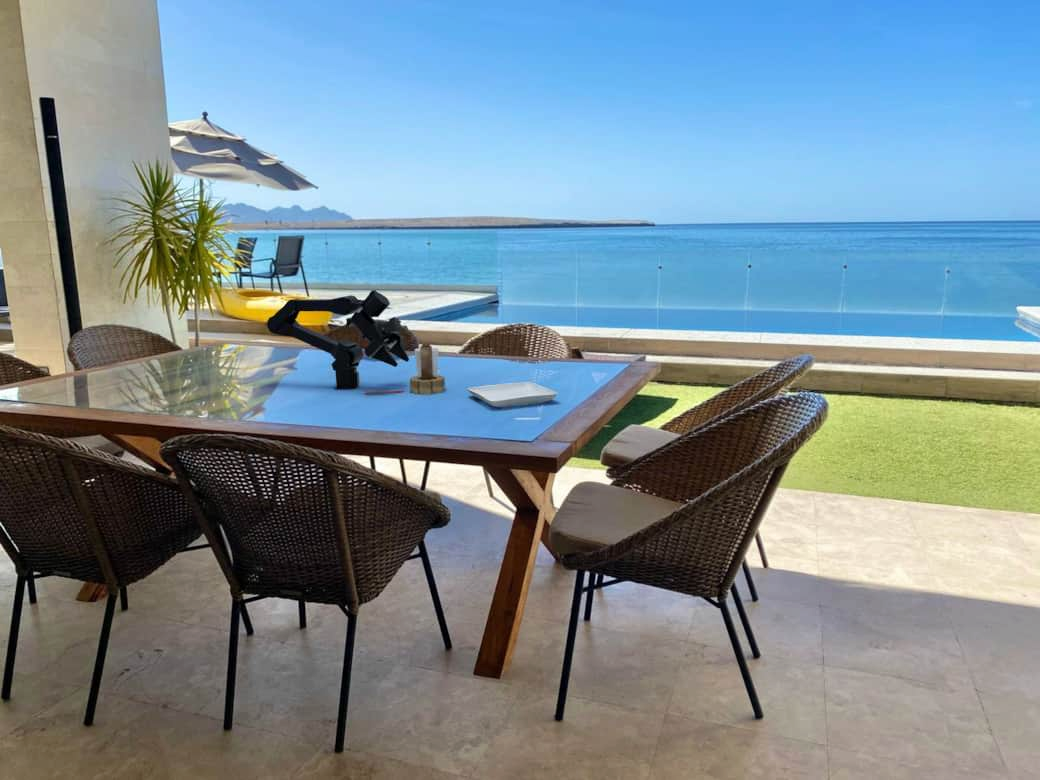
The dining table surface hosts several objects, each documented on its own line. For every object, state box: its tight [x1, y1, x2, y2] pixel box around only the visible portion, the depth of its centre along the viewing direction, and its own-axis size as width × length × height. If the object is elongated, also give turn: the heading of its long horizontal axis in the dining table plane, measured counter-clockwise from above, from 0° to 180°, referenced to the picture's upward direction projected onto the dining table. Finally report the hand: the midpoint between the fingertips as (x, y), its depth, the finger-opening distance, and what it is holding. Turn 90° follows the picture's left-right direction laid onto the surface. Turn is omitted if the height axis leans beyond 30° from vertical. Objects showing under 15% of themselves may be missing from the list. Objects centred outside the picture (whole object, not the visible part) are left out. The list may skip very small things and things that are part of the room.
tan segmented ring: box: [409, 374, 446, 395], centre depth 242 cm, size 10×10×4 cm
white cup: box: [414, 347, 439, 376], centre depth 261 cm, size 8×8×10 cm
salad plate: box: [467, 381, 559, 408], centre depth 227 cm, size 21×21×3 cm
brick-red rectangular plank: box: [364, 389, 405, 395], centre depth 240 cm, size 12×1×1 cm, turn 100°
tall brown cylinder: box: [419, 341, 433, 380], centre depth 241 cm, size 4×4×15 cm
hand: (402, 363), depth 243 cm, fingers open, 9 cm apart
